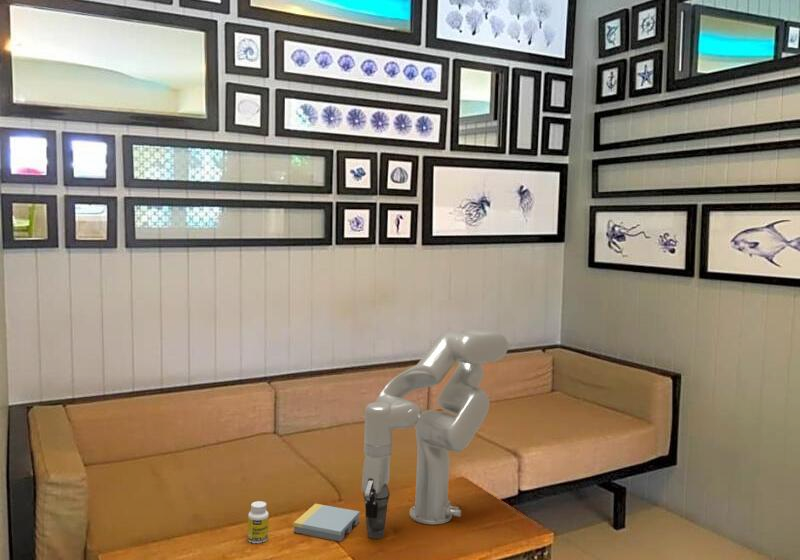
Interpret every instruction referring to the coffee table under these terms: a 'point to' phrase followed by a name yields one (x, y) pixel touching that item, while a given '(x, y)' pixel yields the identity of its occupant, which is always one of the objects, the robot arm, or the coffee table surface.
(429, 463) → the robot arm
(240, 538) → the coffee table surface
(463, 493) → the coffee table surface
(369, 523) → the beverage cup
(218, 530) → the coffee table surface
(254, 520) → the supplement bottle
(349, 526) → the plate
